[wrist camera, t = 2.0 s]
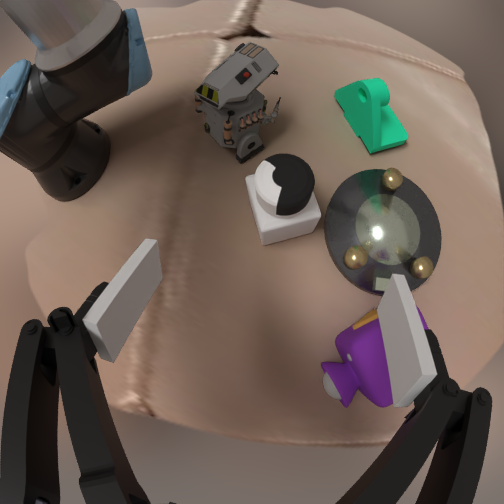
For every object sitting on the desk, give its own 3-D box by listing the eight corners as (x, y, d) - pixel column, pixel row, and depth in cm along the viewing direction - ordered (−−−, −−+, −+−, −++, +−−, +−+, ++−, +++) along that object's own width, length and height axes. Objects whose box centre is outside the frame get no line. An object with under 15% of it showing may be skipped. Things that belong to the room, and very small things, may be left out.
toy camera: (300, 359, 36) (310, 376, 26) (377, 291, 37) (410, 285, 27) (347, 414, 34) (369, 443, 24) (419, 348, 35) (458, 355, 25)
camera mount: (404, 146, 41) (430, 111, 31) (368, 156, 41) (390, 118, 31) (369, 93, 43) (384, 53, 33) (333, 100, 43) (343, 57, 33)
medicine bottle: (297, 185, 40) (307, 139, 28) (313, 232, 39) (331, 200, 27) (248, 198, 40) (240, 154, 28) (262, 246, 39) (259, 219, 27)
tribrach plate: (317, 287, 37) (321, 285, 34) (328, 163, 40) (333, 151, 37) (433, 301, 36) (446, 300, 32) (434, 187, 39) (444, 178, 35)
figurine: (293, 130, 42) (300, 60, 27) (232, 171, 41) (215, 106, 26) (257, 97, 44) (251, 28, 29) (199, 133, 43) (173, 67, 28)
